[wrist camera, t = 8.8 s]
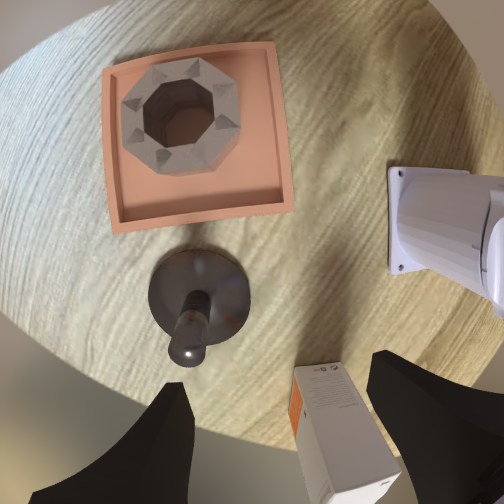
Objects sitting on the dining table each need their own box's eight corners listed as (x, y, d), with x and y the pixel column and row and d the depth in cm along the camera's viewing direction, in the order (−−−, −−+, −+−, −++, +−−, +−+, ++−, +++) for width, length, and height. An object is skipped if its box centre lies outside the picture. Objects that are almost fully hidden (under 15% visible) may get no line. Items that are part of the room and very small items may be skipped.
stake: (244, 243, 18) (252, 276, 12) (254, 337, 20) (265, 397, 13) (141, 255, 17) (101, 291, 11) (162, 345, 19) (141, 403, 13)
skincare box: (292, 365, 21) (335, 493, 9) (341, 359, 21) (406, 469, 9) (286, 414, 22) (314, 524, 10) (329, 408, 22) (372, 508, 11)
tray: (271, 50, 15) (274, 41, 13) (289, 209, 18) (294, 211, 16) (111, 75, 14) (102, 68, 13) (121, 230, 17) (112, 234, 16)
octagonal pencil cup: (232, 87, 15) (233, 53, 10) (240, 169, 16) (244, 162, 11) (148, 100, 15) (120, 73, 10) (153, 180, 16) (125, 180, 11)
